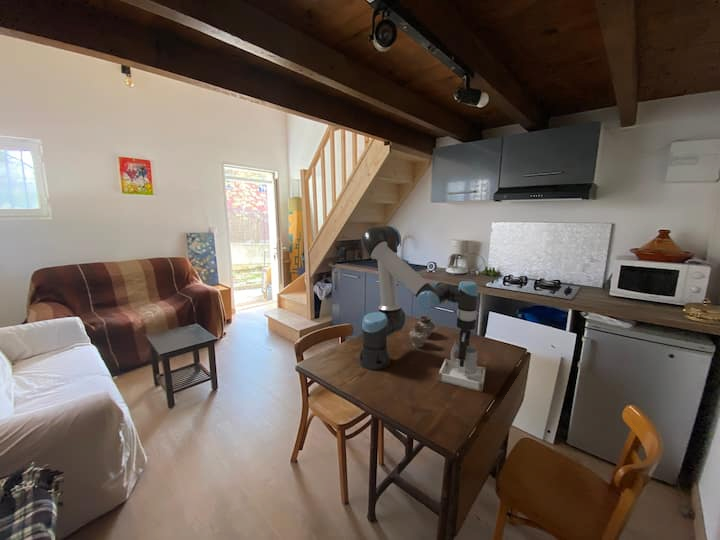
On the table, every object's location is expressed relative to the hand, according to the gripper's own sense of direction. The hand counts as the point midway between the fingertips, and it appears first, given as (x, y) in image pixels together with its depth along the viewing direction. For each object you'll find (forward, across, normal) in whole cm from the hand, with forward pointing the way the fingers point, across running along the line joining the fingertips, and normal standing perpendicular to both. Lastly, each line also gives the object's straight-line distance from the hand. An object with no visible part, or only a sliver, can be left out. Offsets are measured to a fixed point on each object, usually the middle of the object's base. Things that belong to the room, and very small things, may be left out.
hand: (462, 367), depth 127 cm
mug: (+1, 0, 0) cm, 1 cm away
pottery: (+5, +30, +26) cm, 40 cm away
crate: (+5, 0, 0) cm, 5 cm away
